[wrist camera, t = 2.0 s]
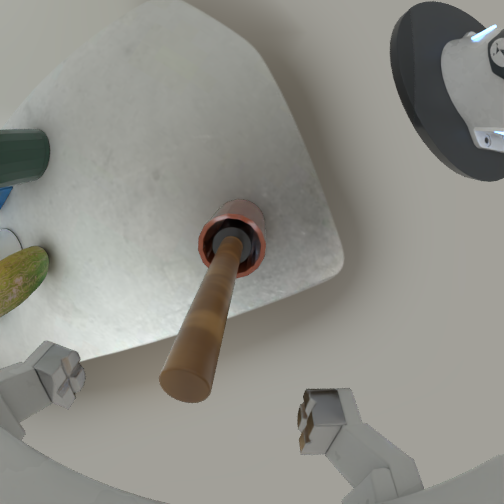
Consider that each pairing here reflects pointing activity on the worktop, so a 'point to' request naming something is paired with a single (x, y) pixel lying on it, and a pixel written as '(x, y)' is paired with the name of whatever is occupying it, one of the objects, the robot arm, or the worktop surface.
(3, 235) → the mug
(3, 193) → the perfume bottle
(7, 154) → the cup
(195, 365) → the wooden dowel rod
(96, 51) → the worktop surface
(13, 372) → the robot arm
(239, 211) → the holder
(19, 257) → the vegetable
